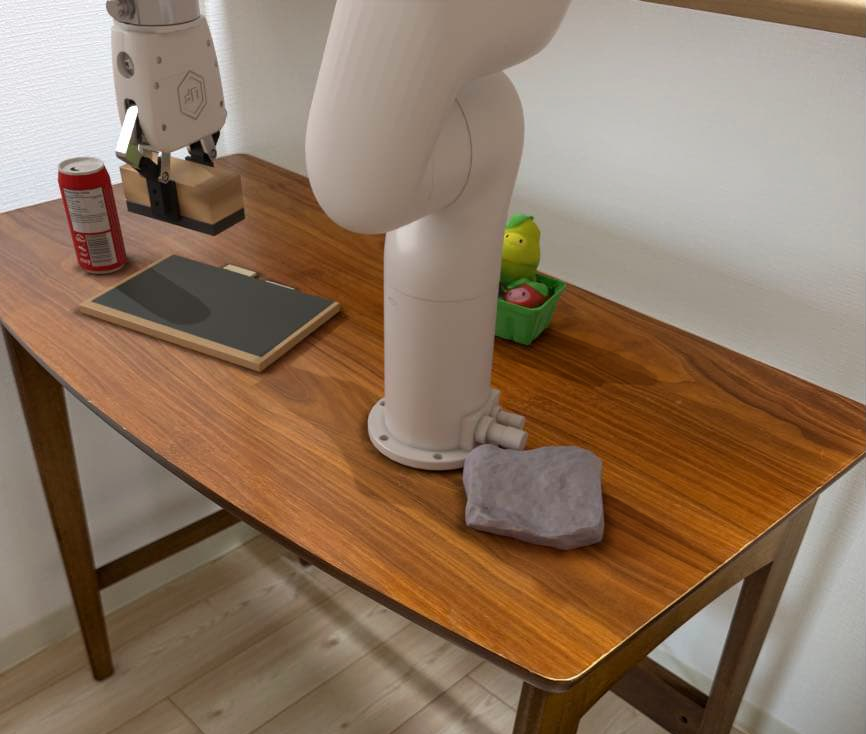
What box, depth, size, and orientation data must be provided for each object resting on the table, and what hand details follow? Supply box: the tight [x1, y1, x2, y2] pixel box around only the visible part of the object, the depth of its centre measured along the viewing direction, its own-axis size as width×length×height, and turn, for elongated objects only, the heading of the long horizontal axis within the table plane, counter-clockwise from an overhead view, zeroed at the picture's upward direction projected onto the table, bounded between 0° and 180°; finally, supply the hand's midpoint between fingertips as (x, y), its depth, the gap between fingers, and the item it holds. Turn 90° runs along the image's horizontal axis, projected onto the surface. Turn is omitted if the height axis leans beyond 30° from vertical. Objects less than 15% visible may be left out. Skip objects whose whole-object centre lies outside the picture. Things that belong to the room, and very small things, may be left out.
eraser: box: [118, 152, 246, 237], centre depth 90 cm, size 11×5×4 cm, turn 62°
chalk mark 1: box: [222, 264, 257, 278], centre depth 107 cm, size 4×1×1 cm, turn 61°
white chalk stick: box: [265, 280, 296, 290], centre depth 104 cm, size 4×1×1 cm, turn 62°
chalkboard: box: [78, 253, 341, 373], centre depth 99 cm, size 24×15×1 cm, turn 62°
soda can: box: [57, 156, 128, 275], centre depth 103 cm, size 6×6×12 cm
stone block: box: [462, 444, 605, 551], centre depth 75 cm, size 12×5×10 cm
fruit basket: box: [494, 213, 567, 346], centre depth 96 cm, size 11×9×11 cm
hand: (185, 206), depth 91 cm, fingers closed on eraser, 5 cm apart
